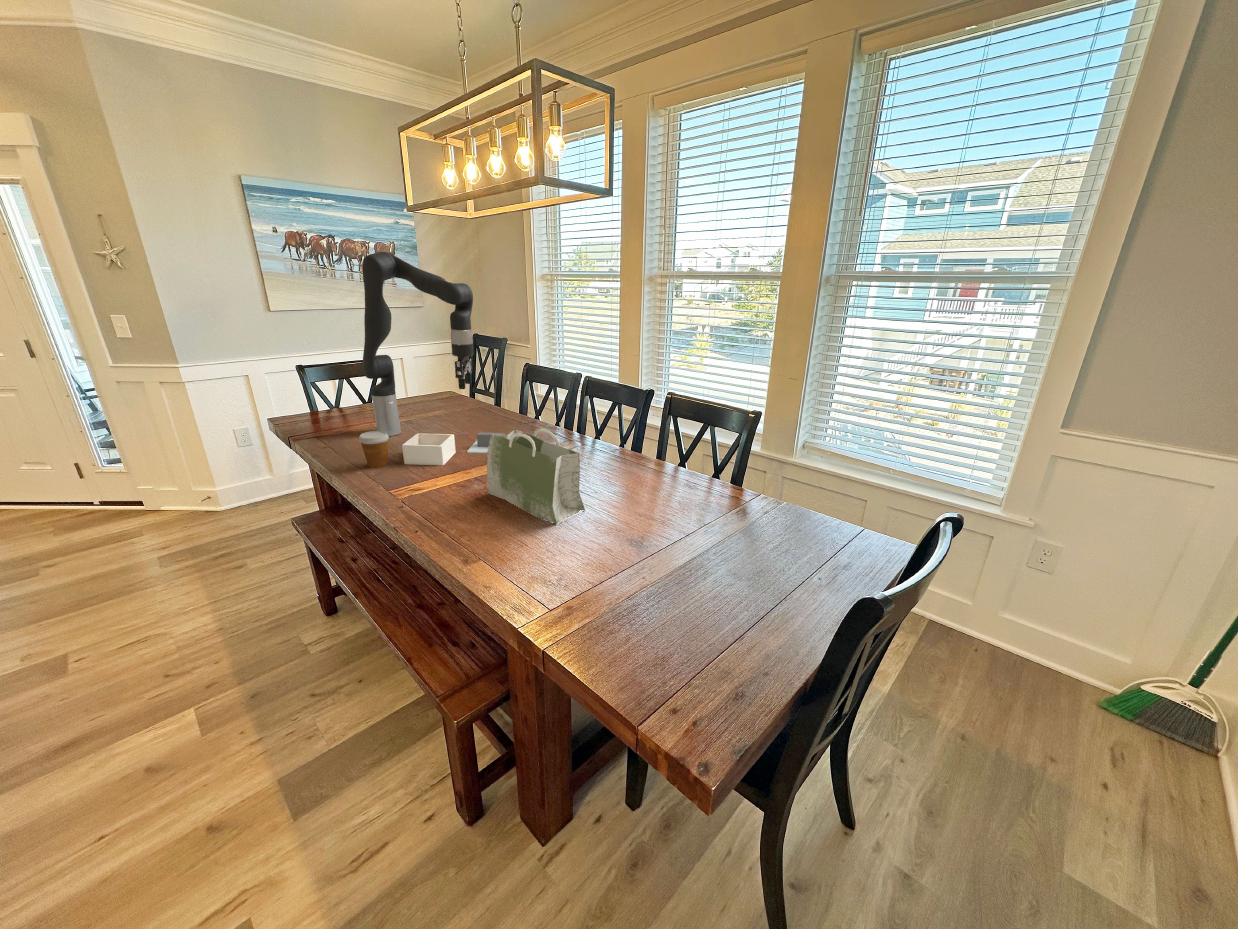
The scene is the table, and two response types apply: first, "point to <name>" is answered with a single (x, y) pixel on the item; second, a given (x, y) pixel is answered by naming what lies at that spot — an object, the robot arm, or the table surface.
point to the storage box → (429, 449)
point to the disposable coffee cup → (375, 448)
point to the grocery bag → (534, 474)
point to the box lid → (481, 443)
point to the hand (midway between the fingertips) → (465, 386)
